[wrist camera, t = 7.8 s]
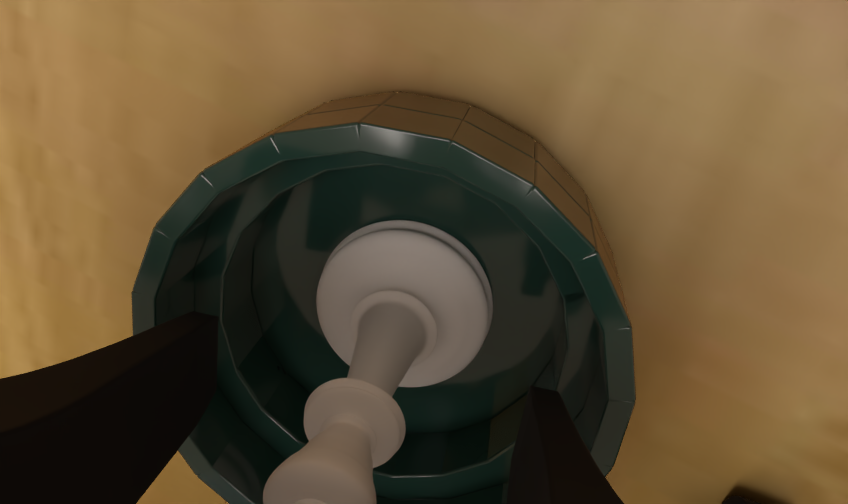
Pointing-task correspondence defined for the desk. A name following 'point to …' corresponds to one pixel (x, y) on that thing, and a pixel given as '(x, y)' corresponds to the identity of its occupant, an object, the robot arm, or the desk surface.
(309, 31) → the desk surface
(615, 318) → the bowl
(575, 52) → the desk surface
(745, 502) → the nameplate
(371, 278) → the chess piece
